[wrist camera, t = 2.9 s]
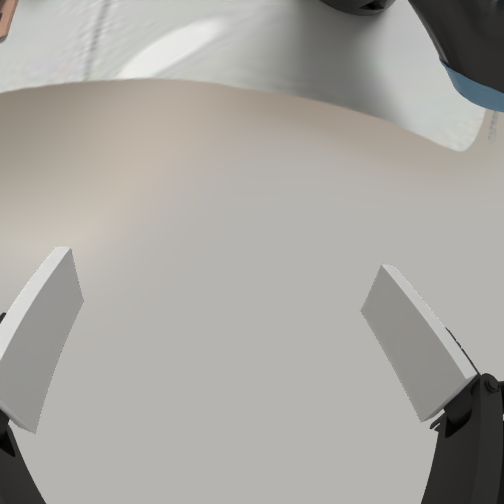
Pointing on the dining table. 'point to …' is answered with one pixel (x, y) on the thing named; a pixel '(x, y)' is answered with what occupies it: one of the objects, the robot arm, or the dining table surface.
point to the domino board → (6, 15)
